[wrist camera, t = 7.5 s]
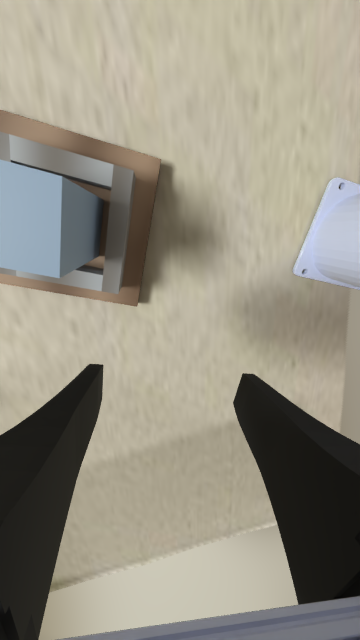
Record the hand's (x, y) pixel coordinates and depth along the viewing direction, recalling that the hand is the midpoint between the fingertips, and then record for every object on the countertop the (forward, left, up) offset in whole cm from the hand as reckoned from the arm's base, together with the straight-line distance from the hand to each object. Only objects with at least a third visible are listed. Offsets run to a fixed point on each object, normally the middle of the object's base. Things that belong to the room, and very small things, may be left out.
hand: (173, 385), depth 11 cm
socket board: (+8, -6, -10) cm, 14 cm away
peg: (+8, -6, -9) cm, 14 cm away
